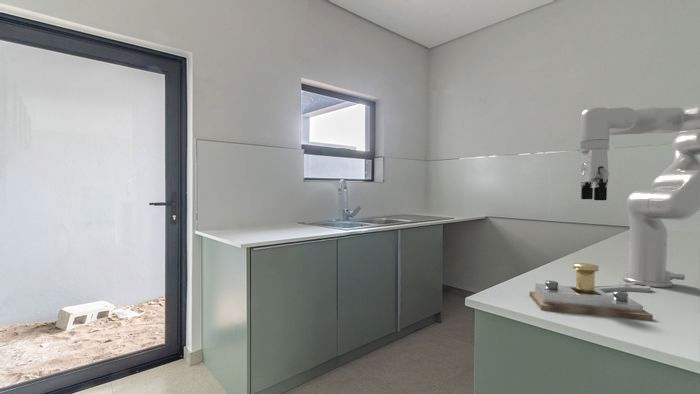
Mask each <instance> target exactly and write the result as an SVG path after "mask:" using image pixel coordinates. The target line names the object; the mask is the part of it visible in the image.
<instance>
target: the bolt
mask: <svg viewBox="0 0 700 394" xmlns="http://www.w3.org/2000/svg"><path fill="white" fill-rule="evenodd" d="M599 267H600V266H599V265H597V264H595V263H593V264H592V263H587V262H574V263H572V268H573V269H574V270H575V273H576V275H575V278H576V279H575V287H576V293H579V294H592V295H594V286H595V282H596V281H595V278H596V277H595V276H596V274H595V273H596V272H599Z"/></svg>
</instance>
